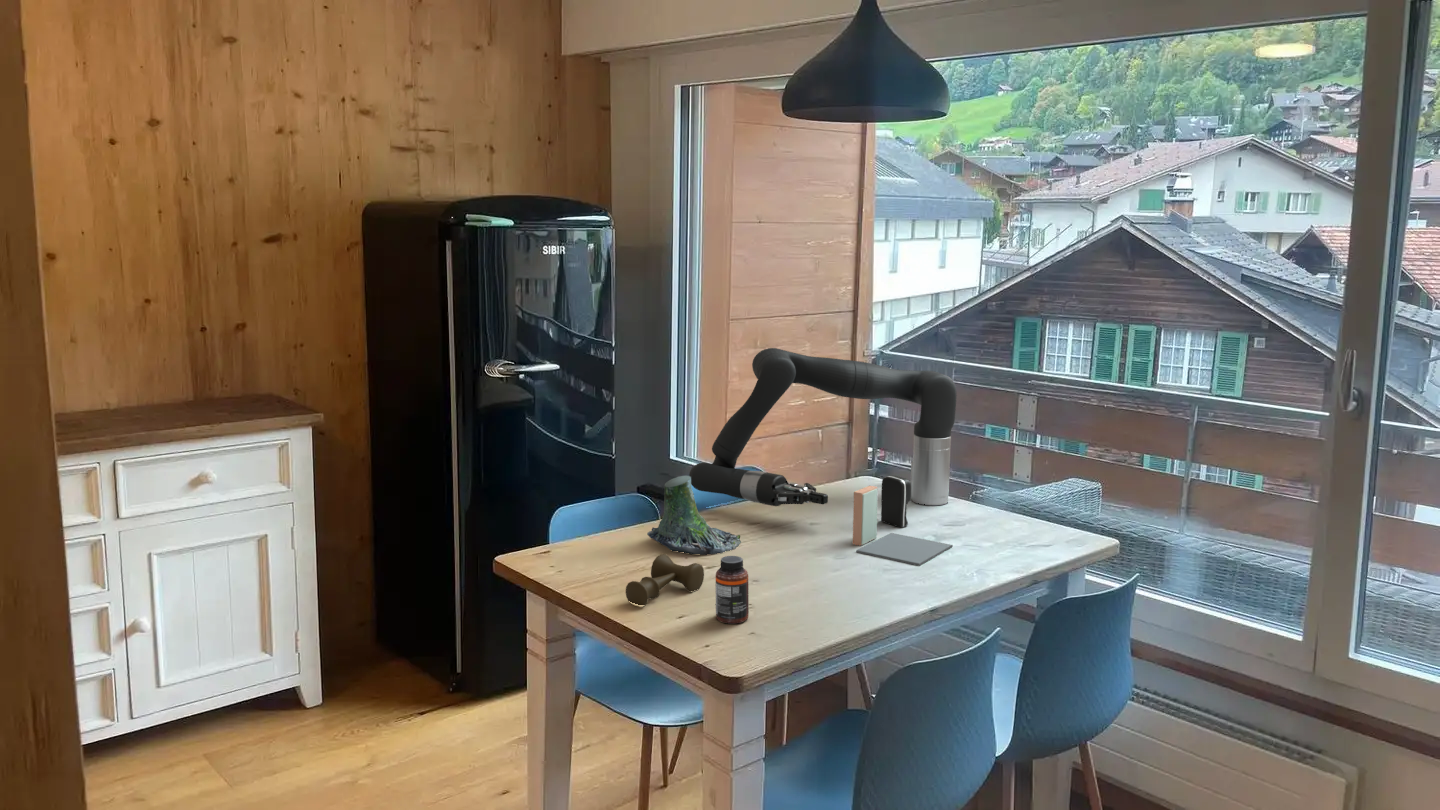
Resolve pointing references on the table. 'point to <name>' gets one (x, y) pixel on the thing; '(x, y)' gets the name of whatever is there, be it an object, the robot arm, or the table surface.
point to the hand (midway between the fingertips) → (826, 499)
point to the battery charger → (895, 500)
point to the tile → (865, 515)
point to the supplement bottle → (732, 591)
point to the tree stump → (688, 523)
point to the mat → (904, 549)
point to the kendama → (664, 579)
